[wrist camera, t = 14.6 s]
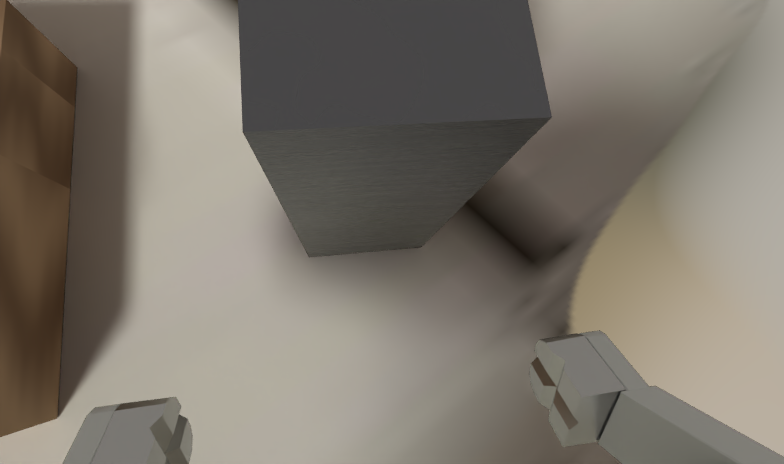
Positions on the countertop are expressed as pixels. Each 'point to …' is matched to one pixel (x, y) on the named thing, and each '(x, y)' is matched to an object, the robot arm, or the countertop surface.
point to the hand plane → (32, 217)
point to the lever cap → (385, 110)
